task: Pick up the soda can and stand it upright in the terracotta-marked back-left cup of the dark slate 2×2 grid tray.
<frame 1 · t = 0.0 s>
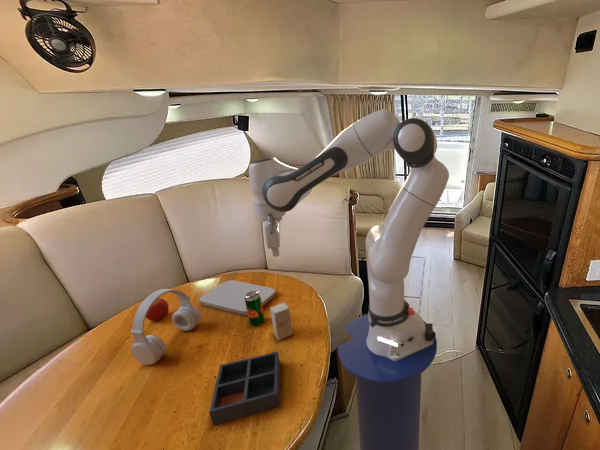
hand: (276, 249, 103), 29 cm above the table, tool pointing down, fingers open, 8 cm apart
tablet: (239, 299, 127), on the table
box: (283, 334, 108), on the table
grid: (250, 390, 87), on the table
soda can: (257, 322, 114), on the table
apple: (158, 318, 116), on the table
headphones: (172, 343, 104), on the table
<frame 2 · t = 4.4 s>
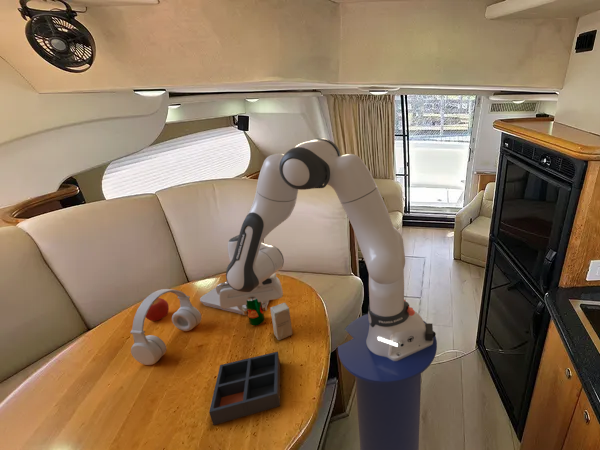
hand: (255, 311, 112), 5 cm above the table, tool pointing down, fingers closed on soda can, 5 cm apart
soda can: (257, 322, 114), on the table, touching gripper
everything else where it was.
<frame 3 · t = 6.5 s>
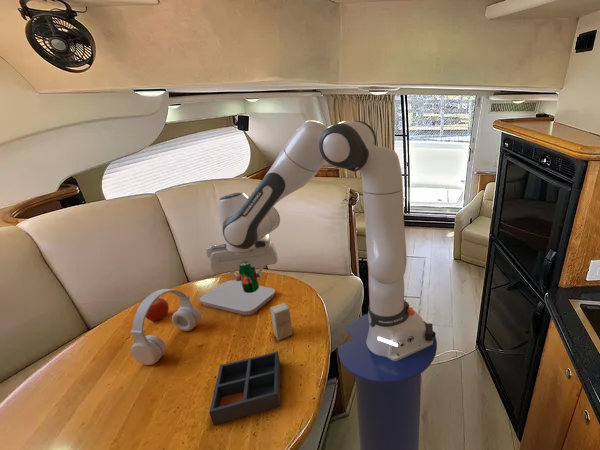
hand: (249, 278, 107), 18 cm above the table, tool pointing down, fingers closed on soda can, 5 cm apart
soda can: (251, 290, 109), point 14 cm above the table, touching gripper
everything else where it was.
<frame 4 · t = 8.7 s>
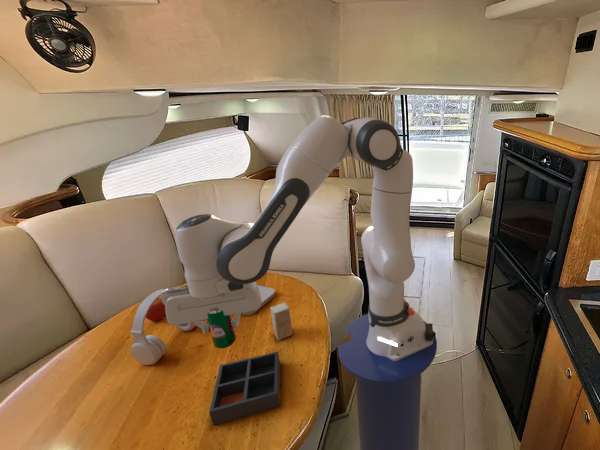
hand: (222, 328, 79), 21 cm above the table, tool pointing down, fingers closed on soda can, 5 cm apart
soda can: (225, 343, 81), point 16 cm above the table, touching gripper
everything else where it was.
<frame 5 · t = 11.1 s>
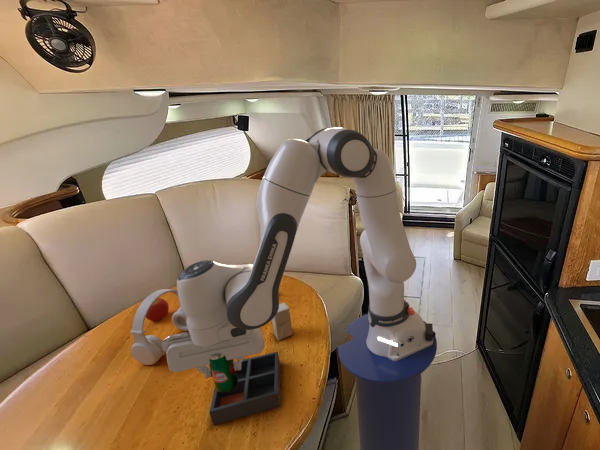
hand: (224, 372, 78), 12 cm above the table, tool pointing down, fingers closed on soda can, 5 cm apart
soda can: (227, 386, 80), point 7 cm above the table, touching gripper
everything else where it was.
when the fingers open (5 cm above the table, at t = 13.1 s): soda can stays where it is, resting on grid.
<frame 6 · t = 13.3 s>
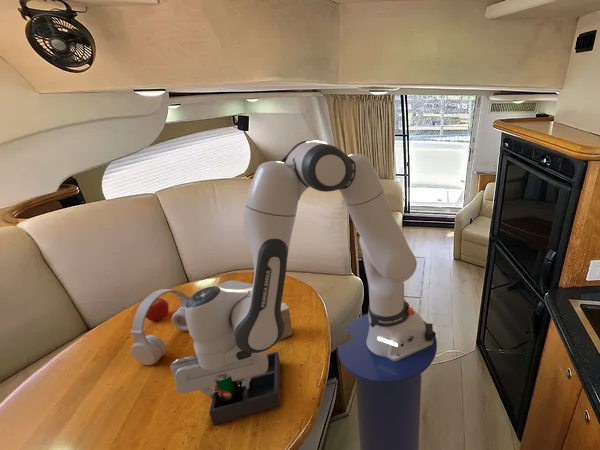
hand: (229, 392, 80), 5 cm above the table, tool pointing down, fingers open, 6 cm apart
soda can: (233, 404, 82), point 1 cm above the table, touching grid
everything else where it was.
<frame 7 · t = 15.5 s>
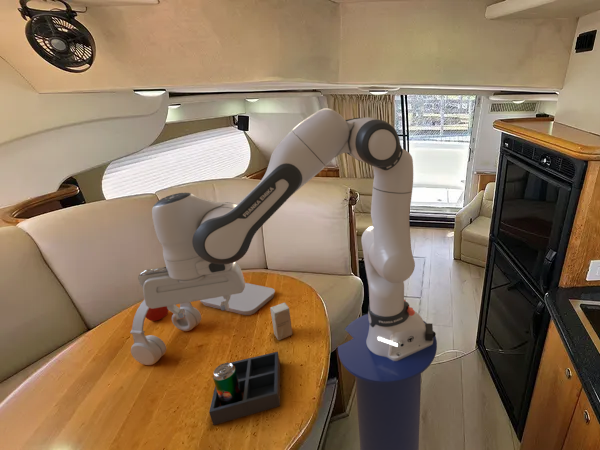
hand: (204, 313, 77), 26 cm above the table, tool pointing down, fingers open, 8 cm apart
nothing on the table moved.
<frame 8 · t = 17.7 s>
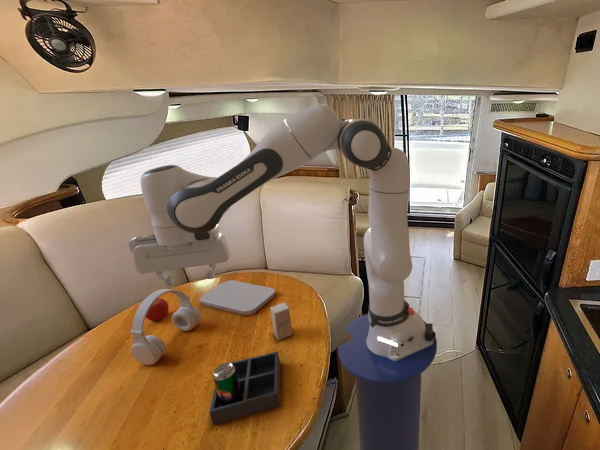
hand: (191, 280, 82), 31 cm above the table, tool pointing down, fingers open, 8 cm apart
nothing on the table moved.
at the end: soda can 0.1 cm from the target spot in the grid, point 0.6 cm above the grid's base; soda can tilted 0°; the gripper is holding nothing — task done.
